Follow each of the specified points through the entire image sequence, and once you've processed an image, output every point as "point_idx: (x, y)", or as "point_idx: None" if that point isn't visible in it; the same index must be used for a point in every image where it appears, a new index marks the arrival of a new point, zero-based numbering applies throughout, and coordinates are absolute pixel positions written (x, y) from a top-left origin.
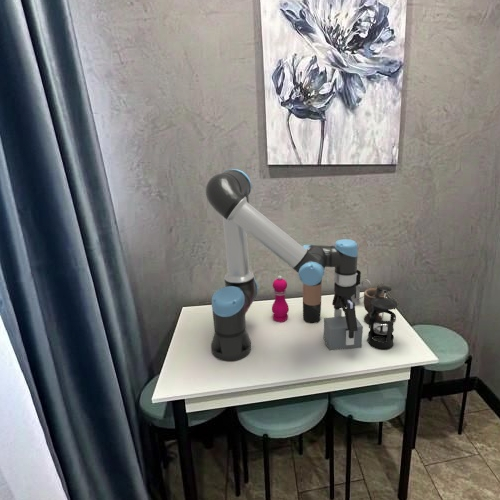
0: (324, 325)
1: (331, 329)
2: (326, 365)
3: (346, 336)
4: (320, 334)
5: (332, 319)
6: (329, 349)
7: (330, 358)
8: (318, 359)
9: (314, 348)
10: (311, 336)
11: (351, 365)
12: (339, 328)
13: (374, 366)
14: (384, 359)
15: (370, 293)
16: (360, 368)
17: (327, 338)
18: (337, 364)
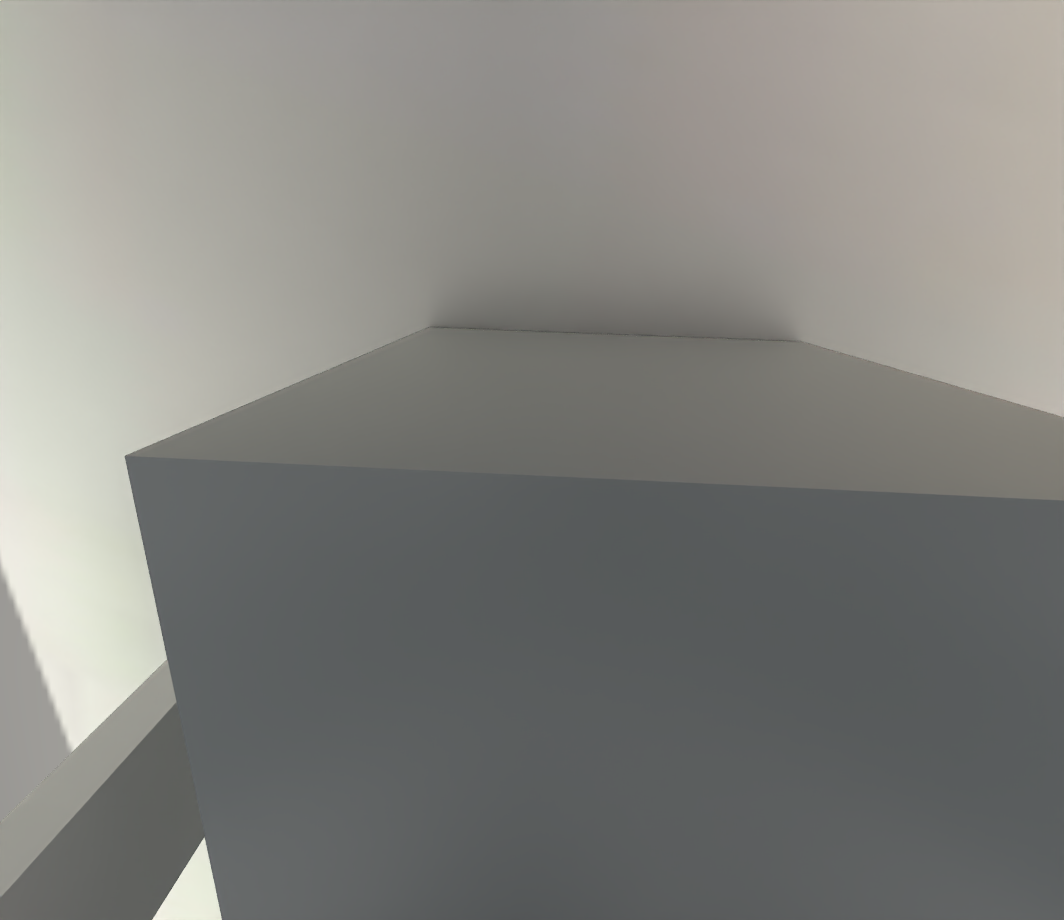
0: (966, 404)
1: (136, 500)
2: (30, 128)
3: (63, 789)
4: (936, 324)
5: (1007, 832)
6: (443, 329)
7: (219, 265)
8: (189, 24)
9: (532, 49)
10: (946, 113)
11: (67, 508)
12: (213, 829)
13: (72, 738)
14: (202, 866)
15: None
16: (17, 588)
17: (575, 351)
18: (72, 325)
